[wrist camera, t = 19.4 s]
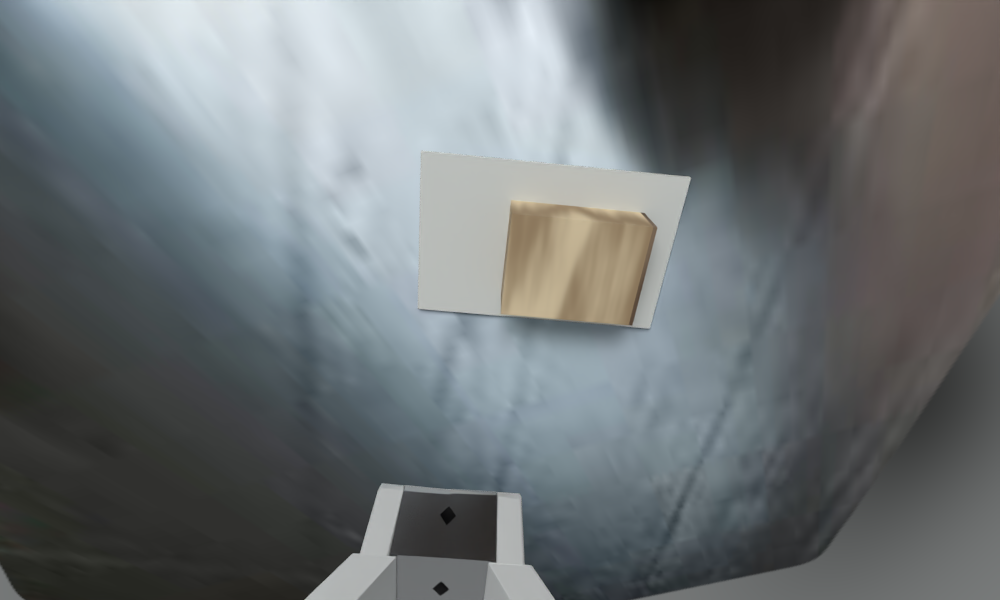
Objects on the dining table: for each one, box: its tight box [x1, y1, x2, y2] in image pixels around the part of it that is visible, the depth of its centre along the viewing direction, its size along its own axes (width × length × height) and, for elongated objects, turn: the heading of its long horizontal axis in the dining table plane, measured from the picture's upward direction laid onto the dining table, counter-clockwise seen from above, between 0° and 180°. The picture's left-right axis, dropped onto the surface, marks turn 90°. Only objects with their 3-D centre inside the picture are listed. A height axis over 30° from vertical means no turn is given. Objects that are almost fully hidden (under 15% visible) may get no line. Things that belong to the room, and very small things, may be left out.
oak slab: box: [501, 200, 658, 326], centre depth 37 cm, size 4×8×10 cm
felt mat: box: [418, 151, 691, 329], centre depth 38 cm, size 20×13×1 cm, turn 85°
